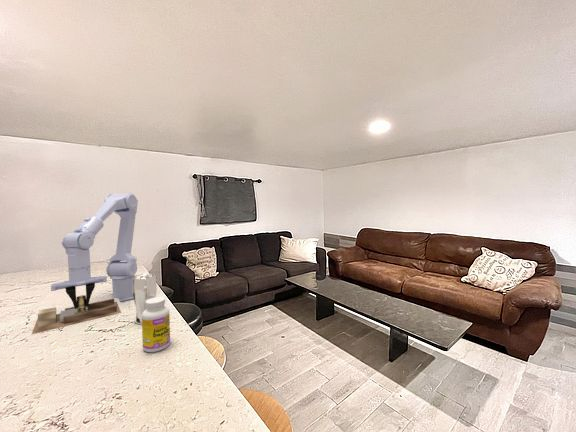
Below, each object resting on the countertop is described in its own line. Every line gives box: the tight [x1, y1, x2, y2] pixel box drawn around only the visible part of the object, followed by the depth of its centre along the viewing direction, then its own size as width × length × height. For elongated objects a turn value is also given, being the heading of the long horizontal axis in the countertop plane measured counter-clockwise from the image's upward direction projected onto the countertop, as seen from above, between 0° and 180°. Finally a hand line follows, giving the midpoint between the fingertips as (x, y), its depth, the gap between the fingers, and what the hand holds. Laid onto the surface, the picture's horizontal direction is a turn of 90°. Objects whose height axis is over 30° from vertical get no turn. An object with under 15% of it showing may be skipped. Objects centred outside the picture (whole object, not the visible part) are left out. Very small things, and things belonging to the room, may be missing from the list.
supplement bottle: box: [141, 296, 171, 353], centre depth 68 cm, size 7×7×13 cm
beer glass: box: [133, 273, 158, 326], centre depth 84 cm, size 7×7×15 cm
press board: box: [31, 298, 122, 335], centre depth 86 cm, size 22×14×4 cm, turn 130°
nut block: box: [37, 306, 58, 327], centre depth 80 cm, size 4×4×4 cm
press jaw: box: [59, 294, 88, 323], centre depth 85 cm, size 7×7×6 cm
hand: (81, 306), depth 86 cm, fingers closed on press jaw, 2 cm apart
